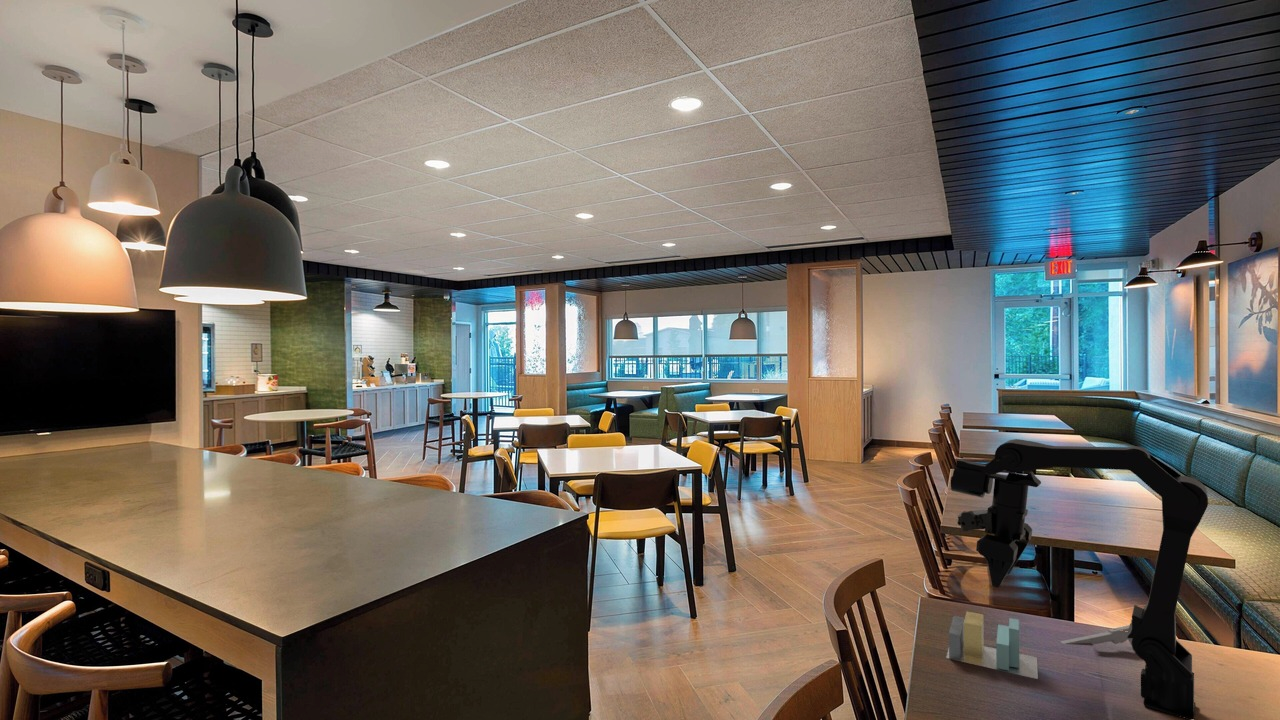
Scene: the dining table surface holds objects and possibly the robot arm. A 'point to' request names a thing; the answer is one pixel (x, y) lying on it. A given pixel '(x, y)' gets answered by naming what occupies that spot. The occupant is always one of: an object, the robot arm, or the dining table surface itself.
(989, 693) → the dining table surface
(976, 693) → the dining table surface
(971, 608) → the dining table surface
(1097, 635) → the grey long thin bar
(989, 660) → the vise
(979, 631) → the brass block
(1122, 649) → the dining table surface
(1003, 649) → the block
